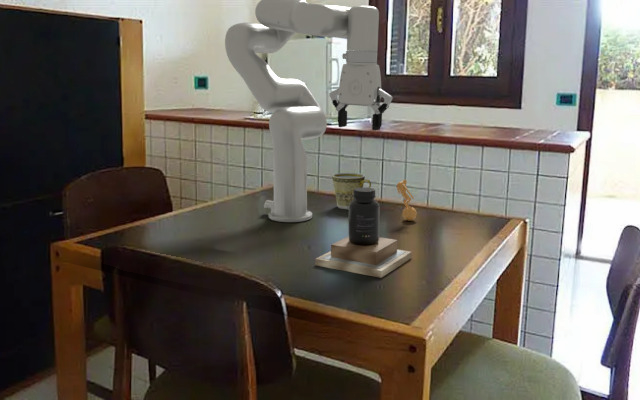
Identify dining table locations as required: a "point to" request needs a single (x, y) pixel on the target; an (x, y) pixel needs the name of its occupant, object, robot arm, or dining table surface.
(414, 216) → the figurine
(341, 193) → the ceramic cup
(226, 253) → the dining table surface
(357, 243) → the supplement bottle
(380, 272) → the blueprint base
